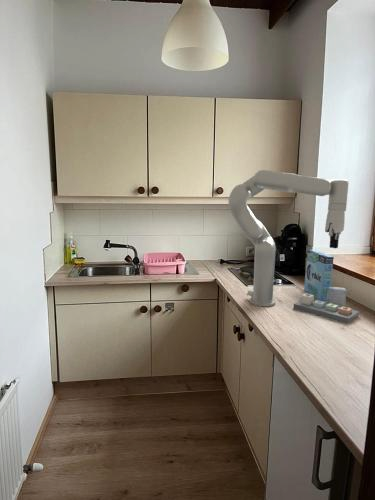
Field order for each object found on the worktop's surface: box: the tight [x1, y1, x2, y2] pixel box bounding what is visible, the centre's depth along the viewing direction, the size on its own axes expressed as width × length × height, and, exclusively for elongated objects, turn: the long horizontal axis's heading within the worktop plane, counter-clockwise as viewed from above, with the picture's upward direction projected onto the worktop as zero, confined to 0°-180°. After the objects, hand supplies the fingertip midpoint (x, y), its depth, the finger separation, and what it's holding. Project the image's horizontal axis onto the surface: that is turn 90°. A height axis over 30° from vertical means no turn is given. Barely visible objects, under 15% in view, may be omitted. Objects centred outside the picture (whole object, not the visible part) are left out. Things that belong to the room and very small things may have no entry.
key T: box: [313, 299, 327, 308], centre depth 158 cm, size 4×4×4 cm
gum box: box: [303, 249, 335, 302], centre depth 179 cm, size 20×5×23 cm, turn 6°
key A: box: [326, 303, 339, 312], centre depth 154 cm, size 4×4×4 cm
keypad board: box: [292, 299, 360, 325], centre depth 156 cm, size 25×12×2 cm, turn 44°
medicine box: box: [326, 286, 347, 307], centre depth 165 cm, size 8×4×9 cm, turn 74°
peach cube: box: [339, 306, 353, 315], centre depth 150 cm, size 4×4×4 cm
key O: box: [301, 292, 315, 305], centre depth 161 cm, size 4×4×4 cm
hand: (333, 247), depth 157 cm, fingers closed
